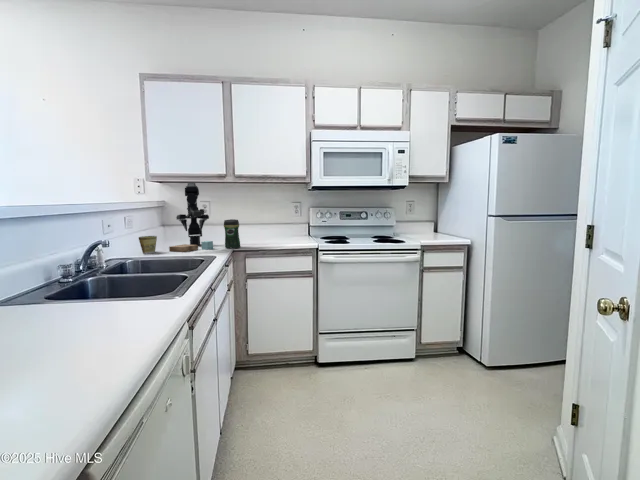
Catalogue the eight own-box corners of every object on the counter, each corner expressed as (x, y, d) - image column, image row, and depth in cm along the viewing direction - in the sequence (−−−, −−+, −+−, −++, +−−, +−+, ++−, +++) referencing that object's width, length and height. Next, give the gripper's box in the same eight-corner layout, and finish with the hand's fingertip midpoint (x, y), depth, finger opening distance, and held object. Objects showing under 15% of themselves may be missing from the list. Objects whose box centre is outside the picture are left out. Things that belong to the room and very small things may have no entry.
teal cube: (207, 248, 230) (206, 240, 229) (213, 248, 228) (212, 241, 227) (201, 249, 225) (201, 241, 225) (207, 249, 223) (207, 242, 223)
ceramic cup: (155, 253, 211) (154, 236, 210) (137, 254, 209) (136, 237, 208) (161, 250, 223) (159, 235, 222) (144, 251, 222) (142, 235, 221)
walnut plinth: (184, 248, 230) (184, 244, 229) (198, 249, 224) (198, 244, 224) (169, 251, 219) (169, 246, 218) (183, 252, 214) (183, 247, 213)
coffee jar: (241, 246, 233) (240, 218, 231) (238, 248, 225) (237, 219, 223) (227, 247, 233) (225, 219, 231) (223, 248, 225) (222, 219, 223)
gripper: (182, 204, 208) (183, 230, 208) (212, 204, 221) (213, 229, 221) (175, 206, 216) (177, 231, 216) (204, 206, 229) (206, 230, 229)
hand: (193, 230), depth 220 cm, fingers open, 9 cm apart
